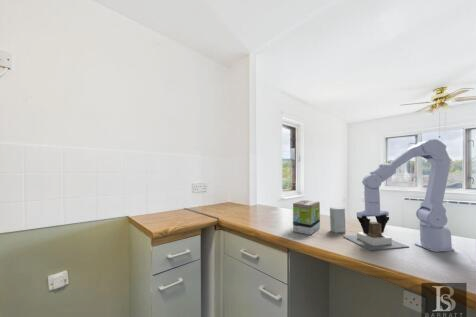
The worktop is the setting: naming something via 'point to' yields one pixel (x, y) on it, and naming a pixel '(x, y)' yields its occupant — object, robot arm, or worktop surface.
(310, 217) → the tea box
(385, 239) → the socket board
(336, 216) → the skincare box
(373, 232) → the walnut peg
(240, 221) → the worktop surface
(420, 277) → the worktop surface
